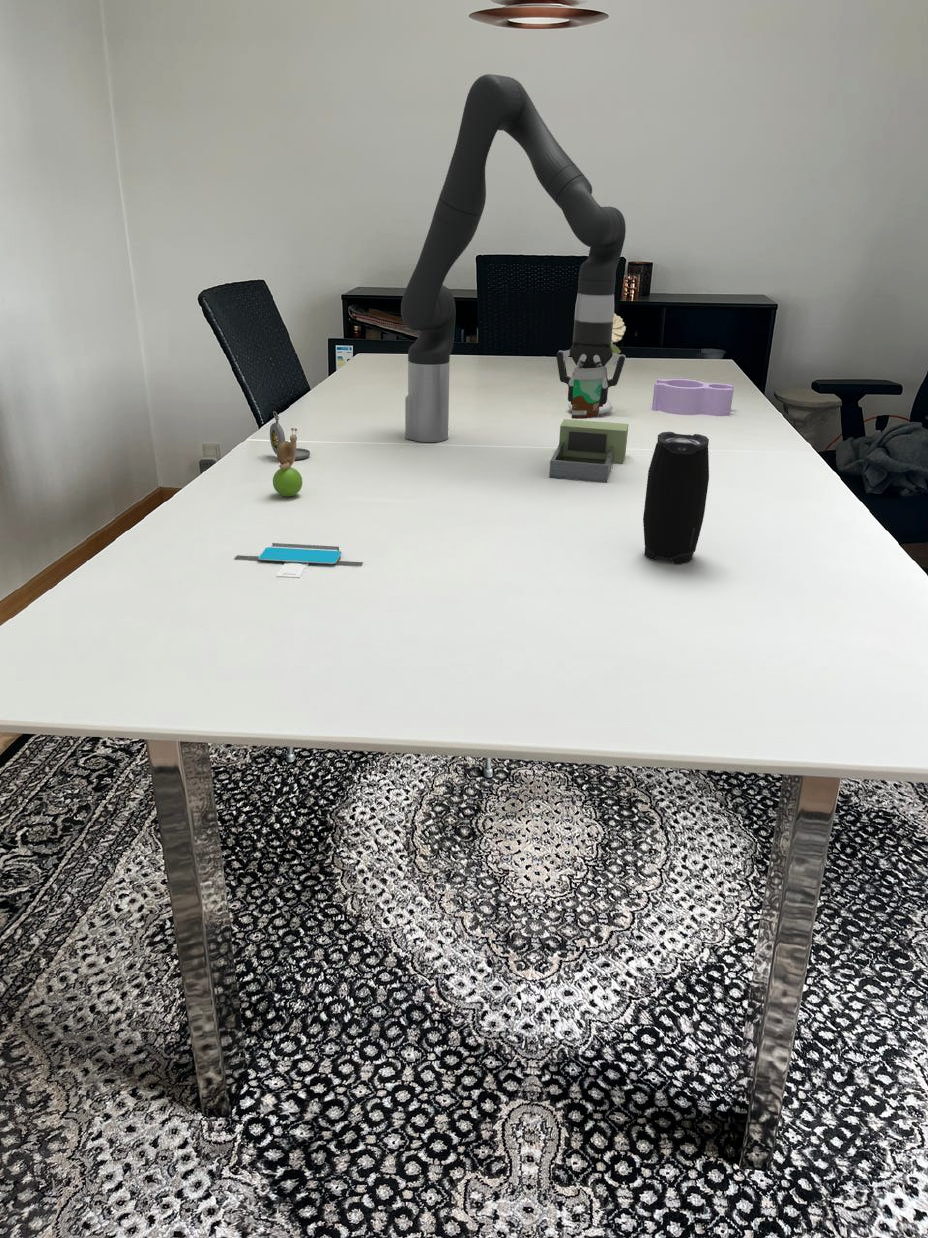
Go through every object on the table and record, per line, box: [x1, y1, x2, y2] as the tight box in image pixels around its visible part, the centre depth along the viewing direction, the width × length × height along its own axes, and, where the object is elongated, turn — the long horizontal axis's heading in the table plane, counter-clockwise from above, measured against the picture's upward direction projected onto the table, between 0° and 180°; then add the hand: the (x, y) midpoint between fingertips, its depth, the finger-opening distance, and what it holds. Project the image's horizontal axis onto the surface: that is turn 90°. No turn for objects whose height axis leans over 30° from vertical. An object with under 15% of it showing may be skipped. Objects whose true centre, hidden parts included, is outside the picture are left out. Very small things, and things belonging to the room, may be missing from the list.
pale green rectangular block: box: [558, 418, 629, 464], centre depth 208 cm, size 14×7×7 cm, turn 77°
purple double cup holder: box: [651, 378, 735, 417], centre depth 252 cm, size 20×12×7 cm, turn 75°
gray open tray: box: [549, 442, 615, 484], centre depth 199 cm, size 12×15×4 cm
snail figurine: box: [272, 427, 303, 498], centre depth 177 cm, size 5×6×12 cm
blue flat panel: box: [234, 542, 364, 579], centre depth 149 cm, size 20×12×2 cm, turn 85°
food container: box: [570, 365, 608, 420], centre depth 193 cm, size 12×6×10 cm, turn 168°
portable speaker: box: [642, 431, 710, 565], centre depth 152 cm, size 9×9×20 cm
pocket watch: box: [269, 411, 311, 461], centre depth 201 cm, size 8×8×10 cm
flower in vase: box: [567, 313, 627, 415], centre depth 242 cm, size 13×11×25 cm
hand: (587, 404), depth 195 cm, fingers closed on food container, 5 cm apart
